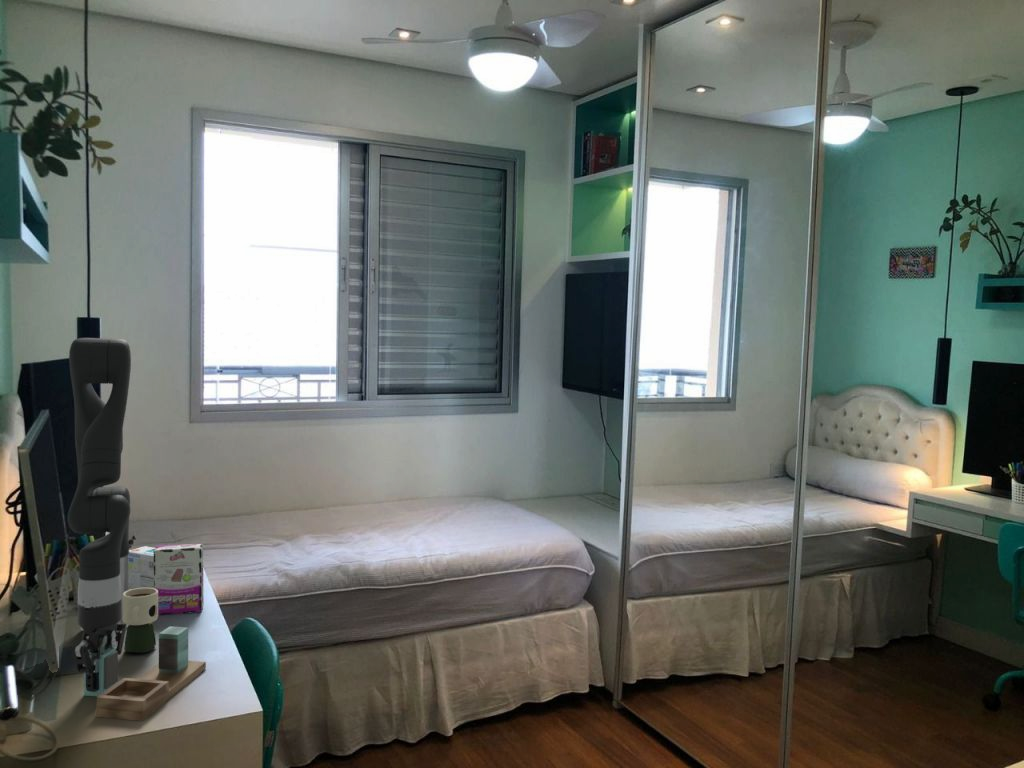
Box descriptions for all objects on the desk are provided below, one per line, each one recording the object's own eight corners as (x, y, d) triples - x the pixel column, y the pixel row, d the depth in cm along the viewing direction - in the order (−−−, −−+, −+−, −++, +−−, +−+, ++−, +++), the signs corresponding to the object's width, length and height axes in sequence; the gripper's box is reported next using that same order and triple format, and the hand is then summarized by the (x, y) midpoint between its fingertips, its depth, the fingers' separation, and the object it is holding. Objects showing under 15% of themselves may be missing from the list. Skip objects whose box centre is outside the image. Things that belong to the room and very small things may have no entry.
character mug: (152, 659, 172) (152, 599, 172) (116, 661, 171) (116, 601, 170) (162, 640, 183) (162, 583, 182) (128, 642, 181) (128, 585, 181)
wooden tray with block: (95, 716, 147) (95, 665, 146) (164, 665, 169) (165, 621, 169) (142, 720, 145) (142, 669, 145) (205, 669, 168) (205, 624, 168)
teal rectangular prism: (83, 695, 155) (83, 654, 154) (97, 686, 159) (96, 646, 158) (105, 697, 154) (105, 656, 154) (118, 688, 158) (118, 648, 158)
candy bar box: (203, 606, 206) (204, 542, 205) (201, 612, 201) (202, 547, 200) (156, 609, 203) (156, 544, 202) (153, 615, 198) (153, 549, 197)
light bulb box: (175, 589, 219) (175, 549, 218) (155, 596, 213) (155, 555, 212) (145, 583, 223) (145, 544, 223) (125, 590, 217) (125, 550, 216)
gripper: (104, 586, 163) (104, 669, 164) (56, 609, 149) (57, 700, 150) (139, 588, 162) (139, 672, 163) (94, 612, 148) (94, 703, 149)
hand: (100, 685), depth 157 cm, fingers closed on teal rectangular prism, 4 cm apart
